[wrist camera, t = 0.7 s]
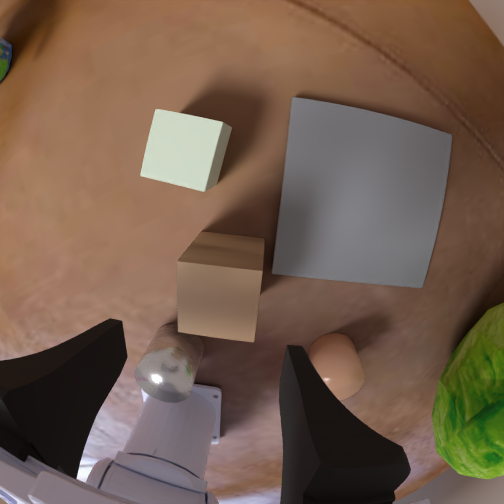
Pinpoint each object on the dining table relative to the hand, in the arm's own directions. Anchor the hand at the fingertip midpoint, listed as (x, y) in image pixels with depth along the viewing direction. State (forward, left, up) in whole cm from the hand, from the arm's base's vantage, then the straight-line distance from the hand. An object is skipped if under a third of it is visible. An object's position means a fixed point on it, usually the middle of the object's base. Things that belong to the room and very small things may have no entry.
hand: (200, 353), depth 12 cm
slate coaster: (+6, -9, -10) cm, 15 cm away
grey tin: (-8, +4, -10) cm, 14 cm away
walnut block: (0, 0, -10) cm, 10 cm away
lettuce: (-4, -27, -10) cm, 29 cm away
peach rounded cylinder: (-7, -9, -10) cm, 15 cm away
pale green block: (+8, +3, -10) cm, 13 cm away
